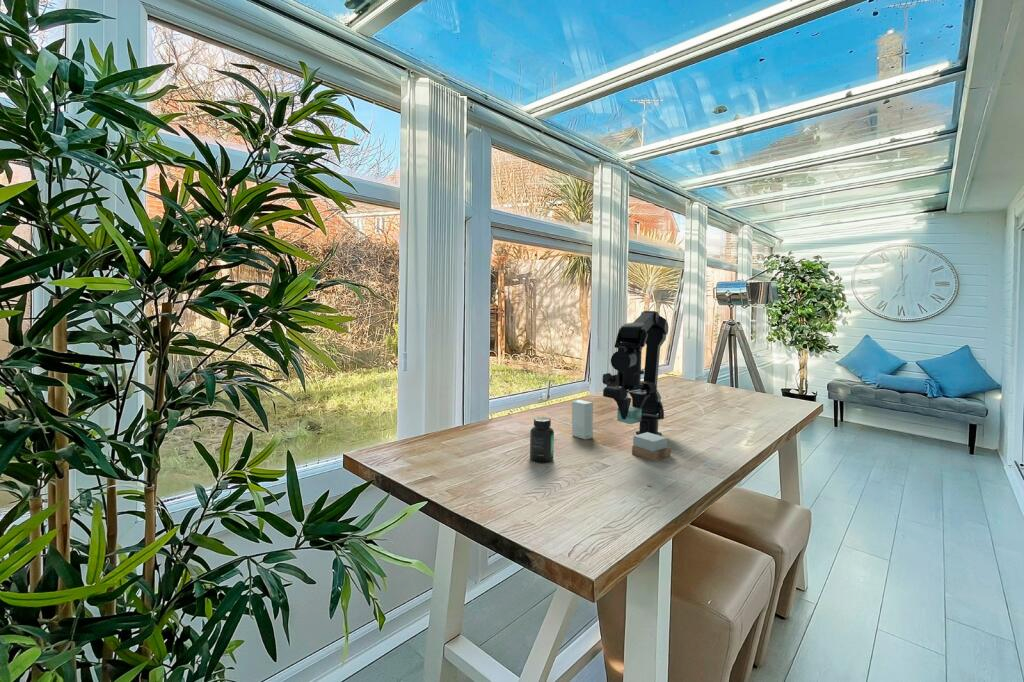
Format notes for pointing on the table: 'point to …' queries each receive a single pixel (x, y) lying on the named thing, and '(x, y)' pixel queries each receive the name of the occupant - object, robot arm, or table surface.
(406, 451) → the table surface
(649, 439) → the slate-grey top block
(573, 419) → the skincare box
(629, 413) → the teal cube
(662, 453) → the walnut base block
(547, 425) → the supplement bottle
